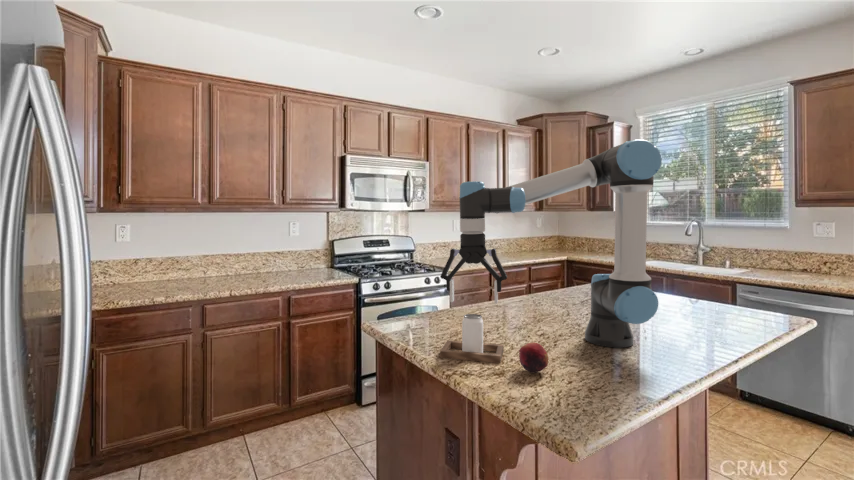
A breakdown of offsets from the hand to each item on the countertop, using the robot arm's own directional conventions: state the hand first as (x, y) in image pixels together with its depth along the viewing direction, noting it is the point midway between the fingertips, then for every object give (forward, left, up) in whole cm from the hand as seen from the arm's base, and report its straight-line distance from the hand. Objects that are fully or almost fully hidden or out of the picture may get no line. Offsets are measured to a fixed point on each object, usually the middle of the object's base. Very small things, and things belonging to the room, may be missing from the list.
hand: (473, 302), depth 126 cm
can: (0, 0, -17) cm, 17 cm away
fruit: (-18, +10, -17) cm, 27 cm away
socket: (0, 0, -16) cm, 16 cm away
